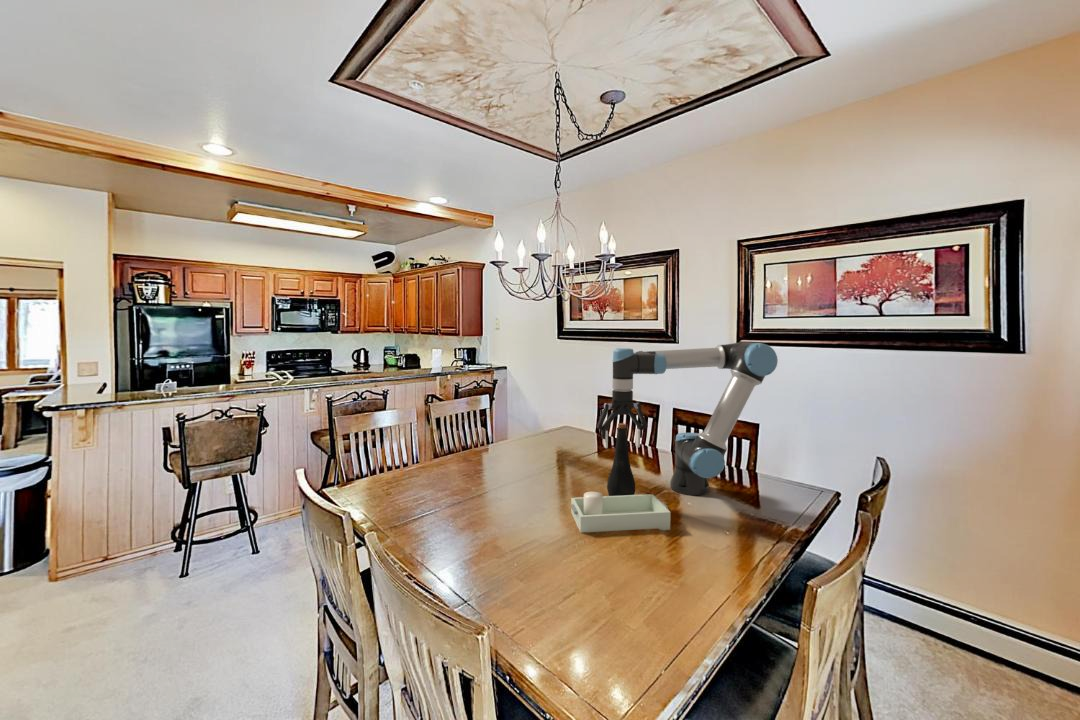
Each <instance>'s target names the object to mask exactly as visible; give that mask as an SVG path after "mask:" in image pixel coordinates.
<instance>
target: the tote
mask: <svg viewBox="0 0 1080 720" xmlns="http://www.w3.org/2000/svg"><path fill="white" fill-rule="evenodd" d="M570 499H571V500H570V502H571V503H570V509H571V510H570V513H571V515H572V517H573V519H574V522H575V524H576V526H577V528H578V531H579V532H580V533H581V534H582V533H598V532H599V533H601V532H615V531H617V532H618V531H635V530H654V529H655V530H656V529H659V531H671V513H672V512H671V511H670V510H669V509H668V506H667V505H666V504H665V503H664V502H663V501H662V500H661V499H658V498H657V497H656V496H655V495H654V494H653V493H651V494H650V493H649V494H634V495H623V496H609V495H605V496H604V495H603V514H600V515H584V496H583V497H582V496H581V497H580V496H579V497H571V498H570Z"/></svg>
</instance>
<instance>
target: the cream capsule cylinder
mask: <svg viewBox="0 0 1080 720" xmlns="http://www.w3.org/2000/svg"><path fill="white" fill-rule="evenodd" d="M603 496H604V495H603V494H602V493H601V492H599V491H598V492H597V491H586V492H584V493H583V497H584V515H600V514H603Z"/></svg>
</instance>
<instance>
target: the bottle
mask: <svg viewBox="0 0 1080 720" xmlns="http://www.w3.org/2000/svg"><path fill="white" fill-rule="evenodd" d="M616 430H617V431H616V442H615V452H614V456H613V461H612V465H611V466H612V467H611V470H610V471H609V475H608V478H607V483H606V486H607V487H606V489H607V490H606V491H607V494H608V496H623V495H636V494H635V493H636V481H635V477H634V474H633V472H632V468H631V462H630V456H629V446H628V428H627V423H623V422H619V423H618V424H617V427H616Z"/></svg>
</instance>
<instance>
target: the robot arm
mask: <svg viewBox="0 0 1080 720" xmlns="http://www.w3.org/2000/svg"><path fill="white" fill-rule="evenodd" d="M612 354H613V355H612V389H613V390H612V394H611V395H612V398H611V399H612V400H611V403H606V402H604V403H603V409H602V412H601V414H600V417H599V419H598V422H597V424H596V428H597V429H598V430H600V431H601V432H600V433H601V435H600V436H601V439H602V440H603V447H604V448H605V449H608V447H609V446H608V443H609V437H608V436H609V430H607V429H608V428H609V426H610V425H611V424H612V423H613V421H614V419H615V418H617V416H622V415H625V416H627V415H628V416H629V417H630V418H631V420H632V421H633V423H634V424H635V425H636V427H637V428H635V447H637V448H640V447H641V439H642V438H643V430H644V429H647V428H648V427H649V426H648V424H647V421H646V418H645V416H644V412H643V410H642V404H641V403H640V402H638V401H637V402H633V400H634V392H633V389H634V375H638V374H639V375H662V374H665V372H666V370H673V369H675V370H677V369H694V368H695V369H696V368H715V367H716V368H718V369H720V370H723V369H724V370H725V369H728V370H729V371H730V373H731V377H730V379H729V382H728V383H727V385H726V387H725V389H724V391H723V393H722V395H721V396H720V399H719V401H718V403H717V405H716V407H715V408H714V410H713V413H712V414H711V416H710V418H709V420H708V422H707V424H706V427H705V428H704V430H703V431H702V432H701V433H698V432H680V433H677V434H676V436H675V440H674V441H675V450H674V451H675V458H674V459H675V461H674V462H675V463H674V471H673V474H672V476H671V480H670V483H669V484H670V486H669V487H670V489H671V490H672V491H674V492H676V493H679V494H683V495H689V496H701V495H702V496H703V495H706V494H708V493H709V491H710V484H709V481H708V479H711V478H715V477H717V476H719V475H720V474H721V473H722V472H723V471H724V468H725V466H726V465H725V463H726V461H725V455H726V452H727V450H728V448H727V443H726V442H727V440H728V439H729V437H730V435H731V433H732V431H733V429H734V428H735V425H736V423H737V422H738V419H739V418H740V416H741V414H742V412H743V410H744V408H745V406H746V404H747V402H748V401H749V398H750V396H751V394H752V392H753V390H754V389H755V387H756V386H759V385H761V384H762V383H763V381H764V379H765V377H767V376H769V375H771V374H772V373H773V372H774V371H775V370H776V368H777V367H778V363H779V362H778V355H777V353H776V350H774V348H773V347H772V346H770V345H769V344H767V343H766V344H765V343H762V342H749V341H740V342H733V343H726V344H718V345H717V346H716V347H707V348H706V347H705V348H683V349H667V350H652V351H651V350H649V351H648V350H647V351H643V350H639V351H635V352H634V349H633V348H625V347H624V348H621V347H620V348H619V347H618V348H615V349H614V350H613V353H612ZM633 408H634V409H635V410H636V413H637V415H638V418H639V420H640V421H639V420H638V418H637V417H636V416H635V413H634V412H633V411H632V409H633ZM610 409H612V411H611V413H610V414H609V416H608V417H607V415H608V413H609V410H610ZM606 418H607V419H606ZM640 422H641V423H640Z"/></svg>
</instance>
